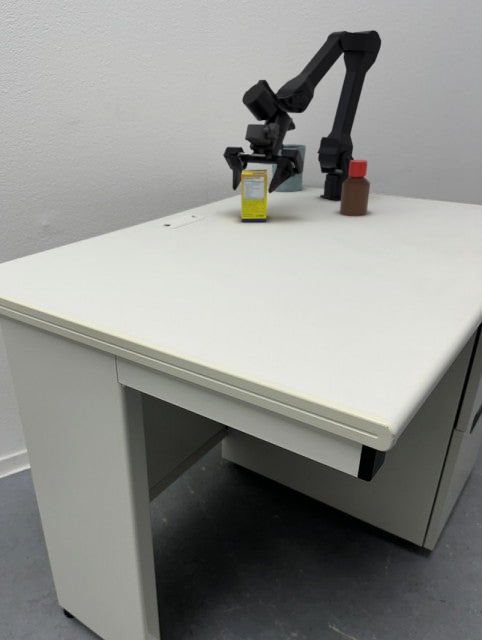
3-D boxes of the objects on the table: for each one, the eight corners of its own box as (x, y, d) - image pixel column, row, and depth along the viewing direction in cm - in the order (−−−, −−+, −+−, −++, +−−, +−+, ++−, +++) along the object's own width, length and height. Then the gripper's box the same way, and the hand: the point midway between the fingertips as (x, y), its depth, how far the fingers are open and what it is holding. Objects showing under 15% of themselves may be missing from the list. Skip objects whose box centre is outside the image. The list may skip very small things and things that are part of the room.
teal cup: (295, 193, 157) (298, 148, 152) (263, 190, 162) (264, 147, 156) (308, 187, 165) (311, 144, 159) (277, 184, 170) (279, 143, 164)
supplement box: (266, 216, 133) (267, 168, 128) (266, 222, 128) (267, 173, 123) (241, 216, 134) (242, 169, 128) (240, 222, 128) (241, 173, 123)
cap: (356, 173, 132) (358, 159, 130) (369, 175, 129) (371, 160, 127) (344, 175, 130) (346, 160, 128) (357, 177, 127) (358, 162, 125)
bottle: (352, 208, 137) (358, 160, 132) (372, 213, 133) (378, 163, 127) (334, 212, 134) (338, 163, 129) (353, 217, 130) (358, 165, 124)
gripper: (226, 109, 127) (203, 166, 124) (302, 109, 118) (279, 170, 115) (242, 142, 136) (221, 195, 133) (313, 144, 127) (291, 201, 125)
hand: (251, 190), depth 126 cm, fingers open, 9 cm apart
